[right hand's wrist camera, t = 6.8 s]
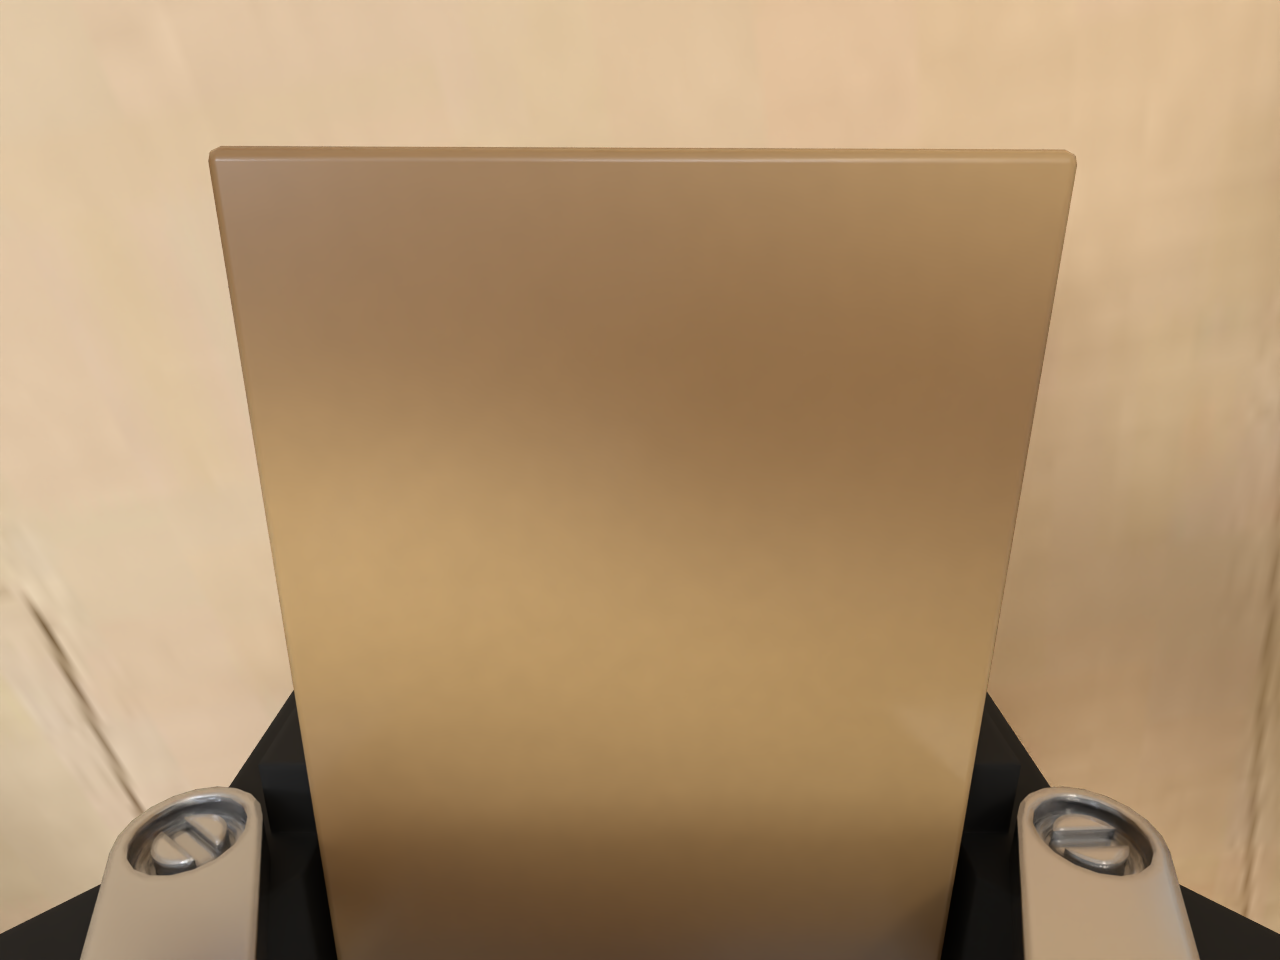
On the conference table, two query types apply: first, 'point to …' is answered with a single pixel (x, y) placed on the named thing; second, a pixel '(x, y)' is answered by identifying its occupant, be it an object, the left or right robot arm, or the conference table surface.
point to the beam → (640, 529)
